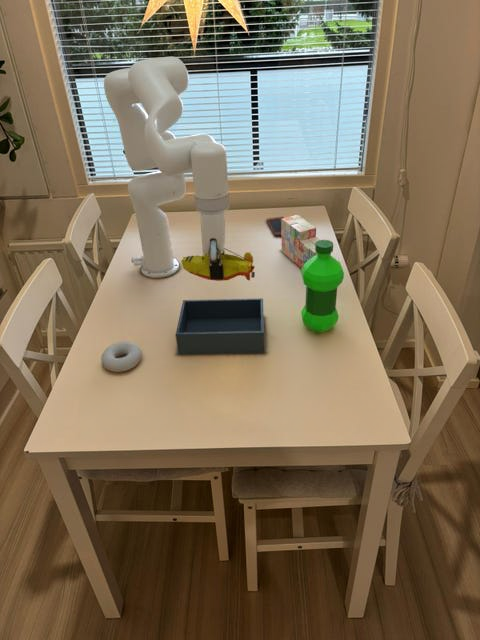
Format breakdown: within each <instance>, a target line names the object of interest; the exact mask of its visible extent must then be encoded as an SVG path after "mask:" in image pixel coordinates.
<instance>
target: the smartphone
mask: <svg viewBox="0 0 480 640" xmlns="http://www.w3.org/2000/svg"><path fill="white" fill-rule="evenodd" d="M282 218H285V216H277V217H268V218H266V222H267V224H268V226H269V228H270V230H271V231H272V233H273V235H274V237H282V235H281V227H282V226H281V219H282Z"/></svg>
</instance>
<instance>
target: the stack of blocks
mask: <svg viewBox="0 0 480 640" xmlns="http://www.w3.org/2000/svg"><path fill="white" fill-rule="evenodd" d="M281 226H282V227H281V235H282V236H281V252H282V253H283V254H284V255H285V256H287V258H289V259H290V260H291V261H292V262H293V263H295V264H296V265H297V266H298V267H299V268H301V269H302V267H303V265H304V264H305V263H306V262H307V261H308V260H310V259H311V258H313V257H314V256H316V255H317V252H316V251H315V243H316V242H317V241H319V240H321V239H320V238H318V237H317V227H315V226H314V225H313V224H312V223H310V222H308V221H307V220H305V219H304V218H302V216H300V215H298V214H295V215H291V216H287V217H284V218H282V219H281ZM330 256H332V252H331V253H330Z"/></svg>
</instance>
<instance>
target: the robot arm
mask: <svg viewBox="0 0 480 640" xmlns="http://www.w3.org/2000/svg"><path fill="white" fill-rule="evenodd" d="M189 84H190V77H189V71H188V69H187V67H186V65H185V63H184V62H183V61H182V60H181V59H180V58H179V57H176V56H172V55H171V56H163V57H155V58H146V59H141V60H138V61H136V62H134V63H133V64H132V65H131V66H130V67H127V68H126V67H125V68H121V69H120V68H119V69H117V70H113V71H111V72H108V73H107V74H106V75H105V77H104V80H103V88H104V90H103V91H104V95H105V99H106V100H107V102H108V105H109V107H110V109H111V110H112V112H113V114H114V116H115V119H116V121H117V124H118V128H119V132H120V137H121V141H122V146H123V151H124V155H125V159H126V162H127V165H128V166H129V168H130V169H131V170H133V171H138V172H140V171H145V170H146V171H147V170H152V169H155V168H157V169H158V171H152V172H149V173H144V174H140V175H137V176H135V177H133V178H131V179H130V181H129V182H128V184H127V192H128V196H129V199H130V201H131V205H132V207H133V210H134V214H135V219H136V223H137V229H138V235H139V240H140V245H141V250H142V255H141V256H131V263H132V264H133V266H135V267H137V266H140V271H141V274H143V275H144V276H145V277H147V278H153V279H161V278H166V277H169V276H172V275H173V274H175V273H177V272H178V270H179V269H180V264H179V261H178V259H176V258H174V253H173V247H172V240H171V232H170V225H169V219H168V216H167V214H166V213H165V212H164V211H163V210H162V209H160V208H159V206H161V205H164V204H167V203H168V204H169V203H171V202H175V201H179V200H182V199H183V198H184V197H185V196H186V193H187V184H186V176H185V174H188V173H192V179H193V180H192V181H193V182H192V183H193V191H194V192H193V193H194V202H195V208H196V211H197V212H198V213H200V232H201V234H200V235H201V245H202V246H201V247H202V249H201V250H202V255H203V254H204V255H203V256H205V255H206V254H208V252H209V263H210V264H209V269H210V279H212V280H211V281H216V280H215V279H224V273H223V264H222V262H221V255H223V254H226V253H225V249H224V248H225V244H226V213H225V212H227V211H228V210H229V209H230V194H229V193H230V192H229V176H228V161H227V160H228V159H227V150H226V148H225V146H224V145H223V144H221V143H220V142H216V140H215V138H214V137H212V135H209V134H208V133H197V134H193V135H186V136H180V137H176V136H175V135H174V134H173V132H171V131H169V129H171V127H172V126H174V125H175V124H177V122H178V121H179V120H180V119H181V117H182V115H183V112H184V103H183V101H182V99H181V97H180V95H183V94H184V93H185V92H186V91H187V90H188V88H189ZM140 104H141V106H140ZM217 250H219V252H217ZM217 255H219V259H218V258H217Z"/></svg>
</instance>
